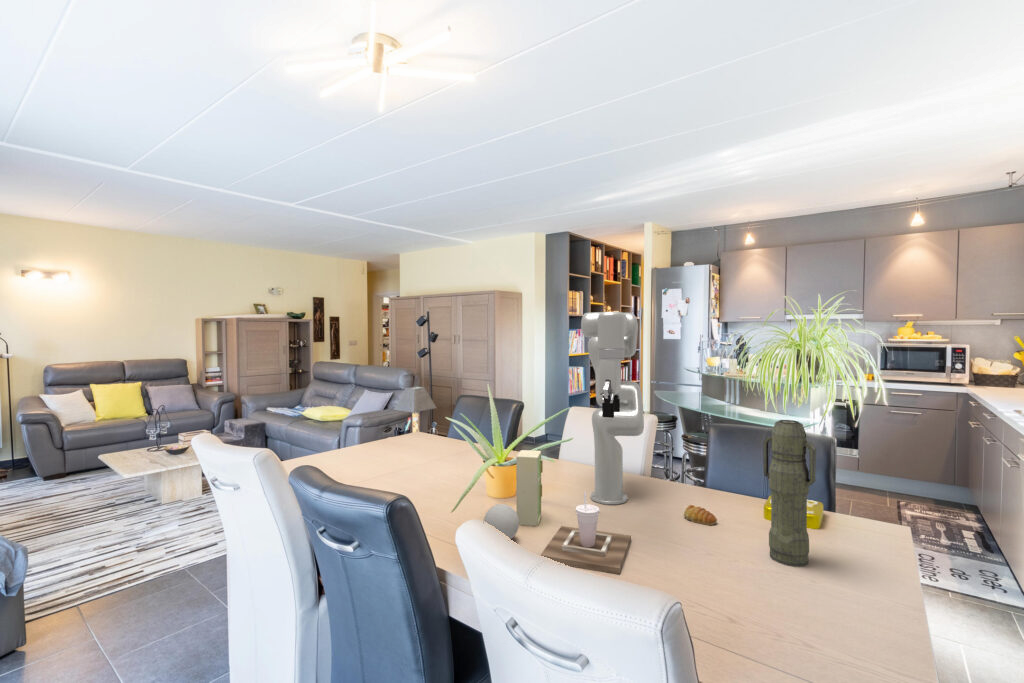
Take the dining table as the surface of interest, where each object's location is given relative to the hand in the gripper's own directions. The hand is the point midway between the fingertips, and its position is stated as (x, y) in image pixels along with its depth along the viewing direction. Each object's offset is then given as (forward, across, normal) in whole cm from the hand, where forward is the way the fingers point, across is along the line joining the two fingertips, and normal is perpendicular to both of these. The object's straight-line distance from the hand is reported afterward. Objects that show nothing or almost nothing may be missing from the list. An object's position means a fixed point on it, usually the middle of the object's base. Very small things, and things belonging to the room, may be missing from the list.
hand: (611, 414), depth 142 cm
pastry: (+35, -19, +24) cm, 46 cm away
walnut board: (+34, +14, -4) cm, 37 cm away
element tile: (+35, -31, +51) cm, 69 cm away
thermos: (+34, +1, +45) cm, 57 cm away
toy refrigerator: (+34, 0, -25) cm, 43 cm away
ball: (+34, +16, -28) cm, 47 cm away
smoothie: (+33, +14, -4) cm, 36 cm away
